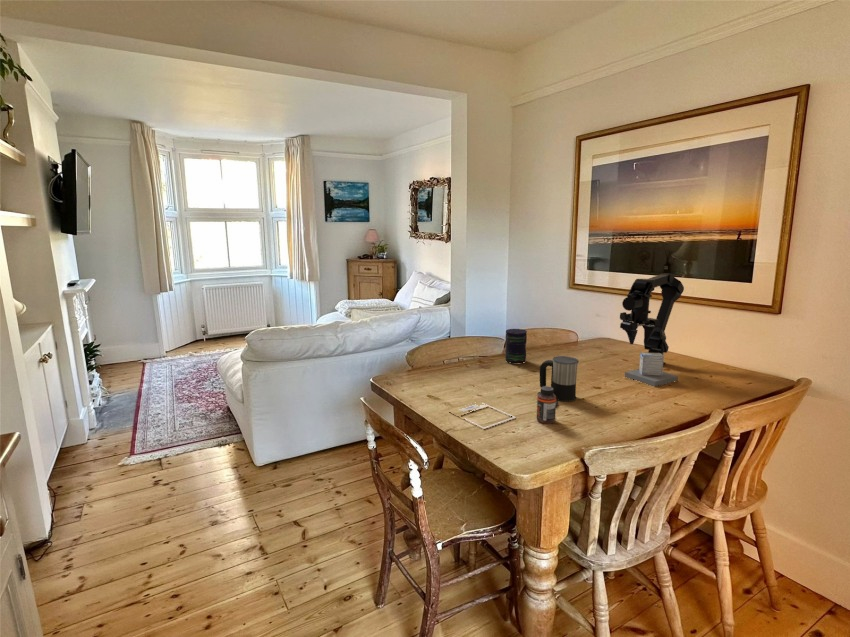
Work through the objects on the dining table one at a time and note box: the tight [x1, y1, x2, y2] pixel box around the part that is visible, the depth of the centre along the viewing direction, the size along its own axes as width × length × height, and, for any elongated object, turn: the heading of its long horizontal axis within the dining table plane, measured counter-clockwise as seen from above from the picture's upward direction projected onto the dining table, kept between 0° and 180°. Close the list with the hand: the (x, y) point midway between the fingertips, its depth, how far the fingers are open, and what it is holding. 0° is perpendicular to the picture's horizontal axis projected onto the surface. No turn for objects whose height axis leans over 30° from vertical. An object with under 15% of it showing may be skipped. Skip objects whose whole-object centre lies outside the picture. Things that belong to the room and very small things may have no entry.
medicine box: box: [638, 352, 665, 376], centre depth 187 cm, size 8×4×9 cm, turn 78°
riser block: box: [624, 368, 679, 387], centre depth 188 cm, size 14×14×3 cm
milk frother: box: [537, 355, 579, 406], centre depth 165 cm, size 14×16×15 cm
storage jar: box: [504, 328, 528, 363], centre depth 214 cm, size 10×10×15 cm
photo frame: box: [459, 402, 517, 430], centre depth 154 cm, size 15×1×18 cm
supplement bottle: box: [536, 385, 557, 425], centre depth 148 cm, size 6×6×11 cm
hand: (638, 343), depth 199 cm, fingers open, 9 cm apart
